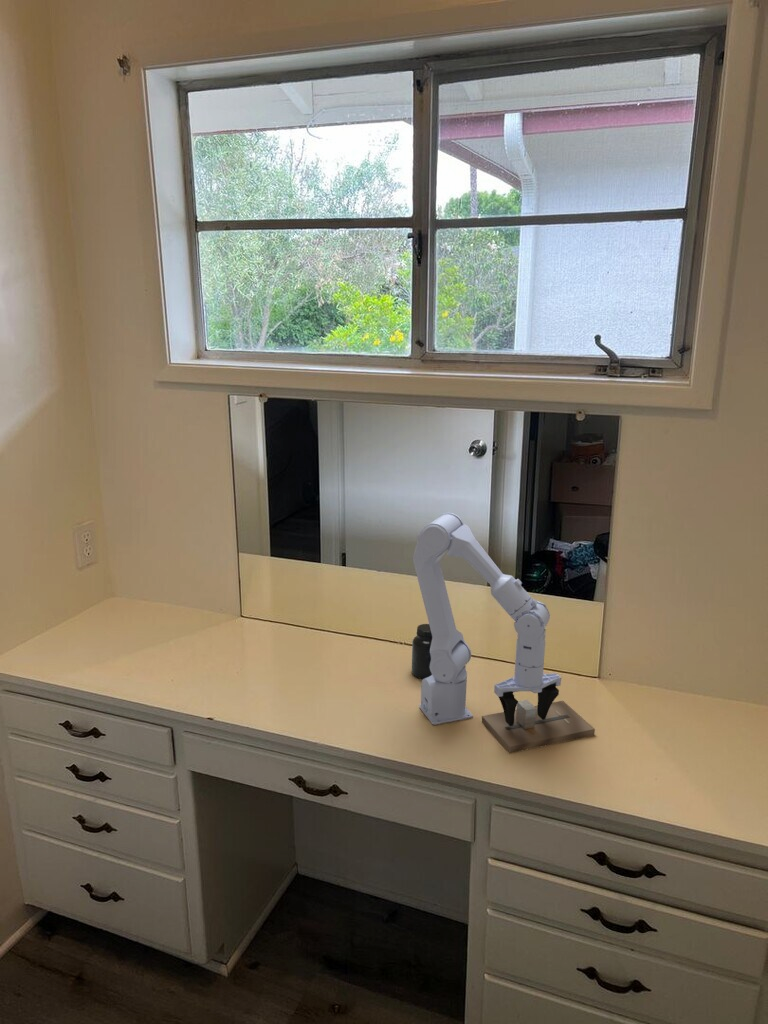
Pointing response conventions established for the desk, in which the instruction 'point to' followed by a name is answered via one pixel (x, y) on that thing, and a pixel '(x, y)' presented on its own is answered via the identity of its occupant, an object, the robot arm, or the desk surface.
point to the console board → (539, 728)
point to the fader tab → (525, 714)
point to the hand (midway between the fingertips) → (525, 720)
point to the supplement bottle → (422, 652)
